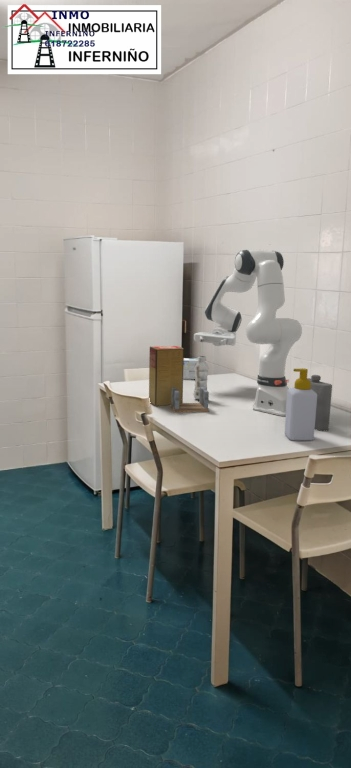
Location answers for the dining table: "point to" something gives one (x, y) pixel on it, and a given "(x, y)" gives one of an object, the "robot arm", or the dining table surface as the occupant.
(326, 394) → the flask
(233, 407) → the dining table surface
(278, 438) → the dining table surface
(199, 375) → the plastic bottle
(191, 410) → the bookend shelf
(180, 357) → the food packaging
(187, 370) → the light bulb box
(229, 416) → the dining table surface
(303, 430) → the soap bottle
